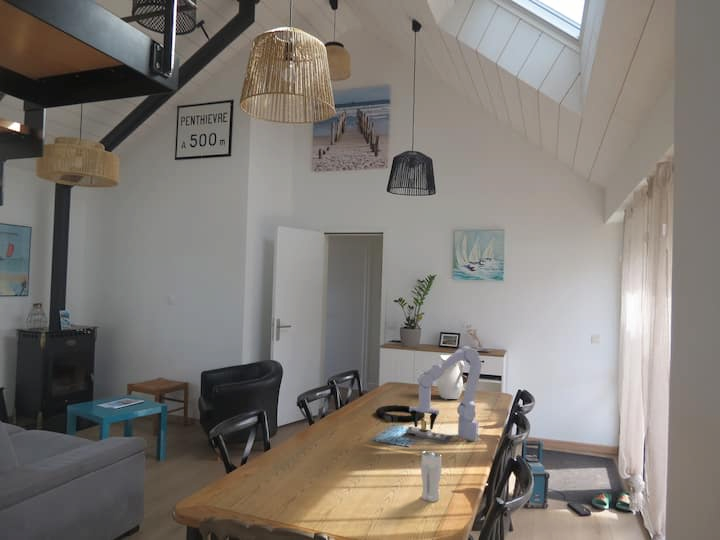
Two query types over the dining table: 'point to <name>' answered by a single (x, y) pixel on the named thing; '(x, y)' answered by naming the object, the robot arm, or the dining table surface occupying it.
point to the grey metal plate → (426, 434)
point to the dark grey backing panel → (413, 436)
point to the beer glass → (430, 475)
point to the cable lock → (396, 418)
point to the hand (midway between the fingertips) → (423, 427)
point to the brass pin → (423, 425)
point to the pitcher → (451, 380)
